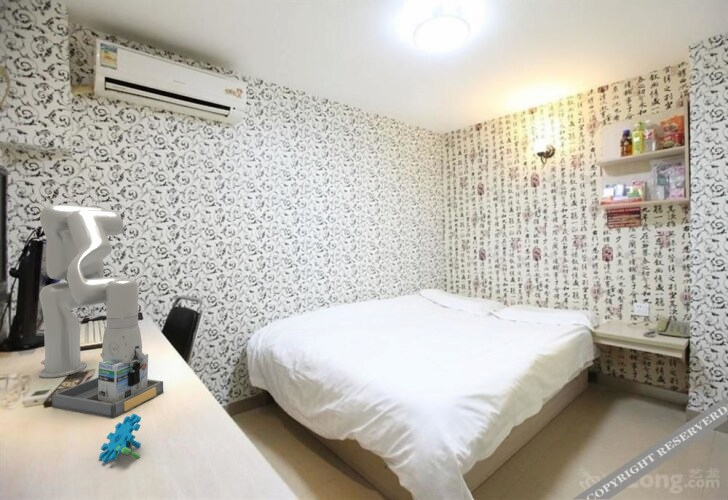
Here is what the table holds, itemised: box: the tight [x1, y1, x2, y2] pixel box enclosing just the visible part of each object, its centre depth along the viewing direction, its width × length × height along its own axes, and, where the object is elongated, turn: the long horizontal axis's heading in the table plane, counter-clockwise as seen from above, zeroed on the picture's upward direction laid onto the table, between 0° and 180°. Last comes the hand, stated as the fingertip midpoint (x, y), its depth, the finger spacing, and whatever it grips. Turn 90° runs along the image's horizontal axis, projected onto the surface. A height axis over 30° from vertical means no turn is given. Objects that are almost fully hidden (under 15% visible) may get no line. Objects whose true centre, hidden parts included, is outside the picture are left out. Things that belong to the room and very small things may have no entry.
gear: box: [98, 413, 142, 464], centre depth 77 cm, size 11×6×10 cm
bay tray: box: [51, 377, 164, 419], centre depth 102 cm, size 23×16×4 cm
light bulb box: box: [97, 352, 149, 403], centre depth 101 cm, size 11×7×11 cm, turn 166°
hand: (123, 382), depth 101 cm, fingers closed on light bulb box, 6 cm apart
